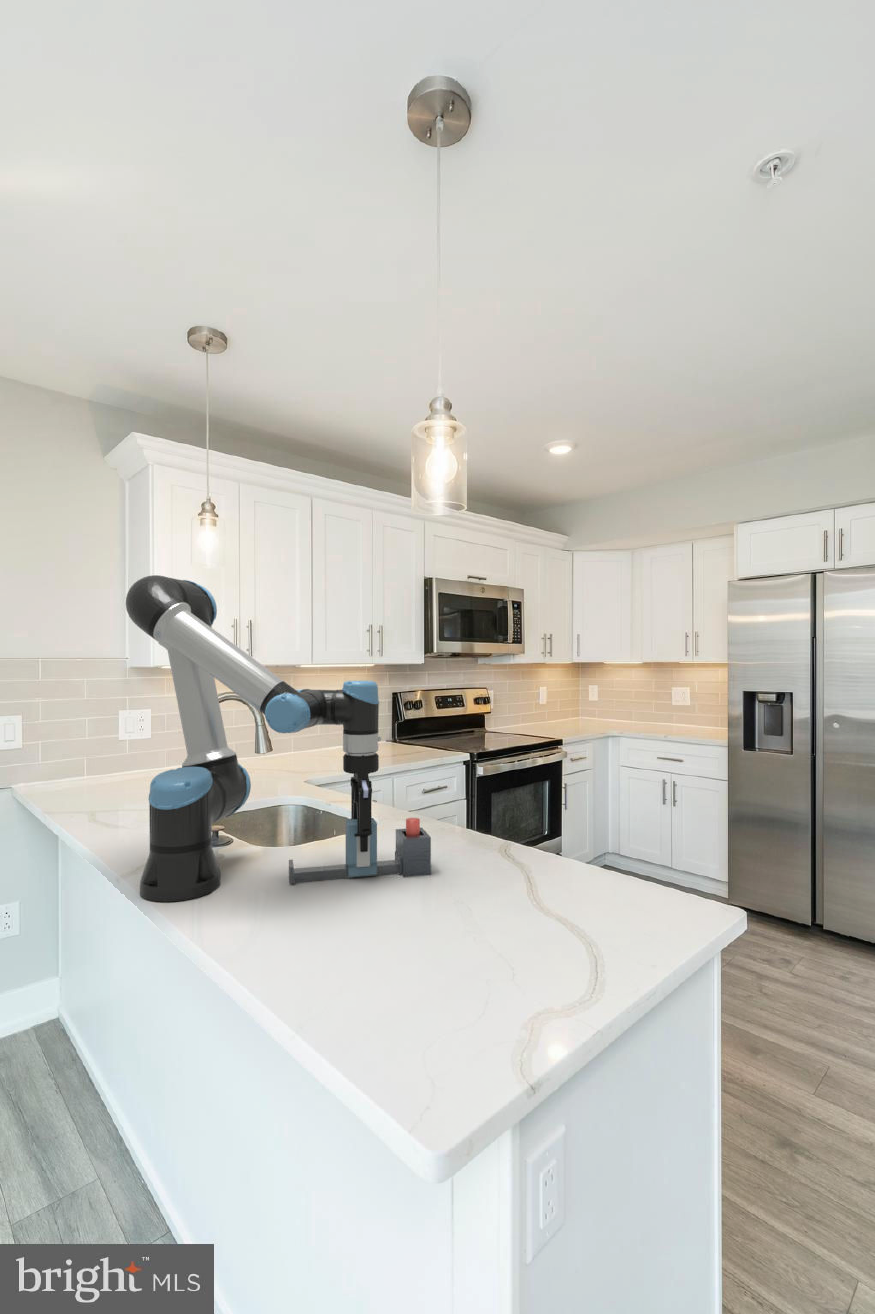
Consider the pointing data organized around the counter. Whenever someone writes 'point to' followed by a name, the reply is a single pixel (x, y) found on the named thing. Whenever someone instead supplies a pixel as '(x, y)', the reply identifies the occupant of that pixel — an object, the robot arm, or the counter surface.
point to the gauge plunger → (412, 827)
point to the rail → (339, 871)
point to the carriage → (351, 850)
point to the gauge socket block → (414, 853)
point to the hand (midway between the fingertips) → (361, 861)
